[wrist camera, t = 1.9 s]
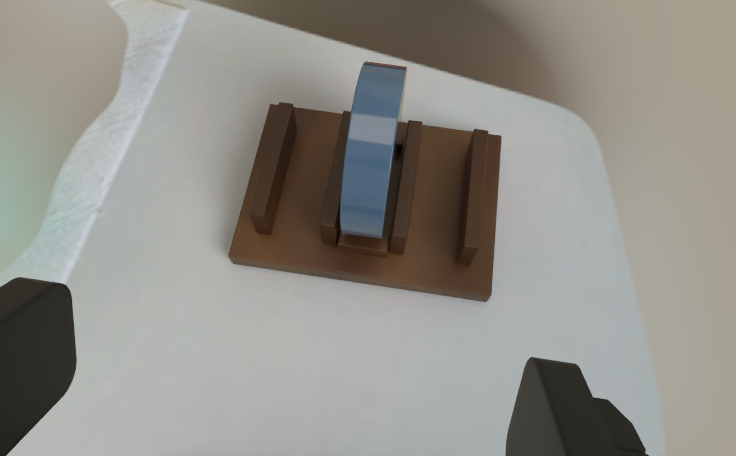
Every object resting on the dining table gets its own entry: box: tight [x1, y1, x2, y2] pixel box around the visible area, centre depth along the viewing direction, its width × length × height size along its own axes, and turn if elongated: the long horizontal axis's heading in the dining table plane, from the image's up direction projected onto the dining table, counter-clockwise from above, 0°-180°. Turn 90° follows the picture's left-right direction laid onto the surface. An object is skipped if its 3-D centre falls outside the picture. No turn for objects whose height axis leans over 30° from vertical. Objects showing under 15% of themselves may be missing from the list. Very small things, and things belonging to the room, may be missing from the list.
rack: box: [229, 102, 501, 302], centre depth 31 cm, size 14×10×4 cm
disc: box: [340, 62, 407, 239], centre depth 27 cm, size 2×8×8 cm, turn 171°
